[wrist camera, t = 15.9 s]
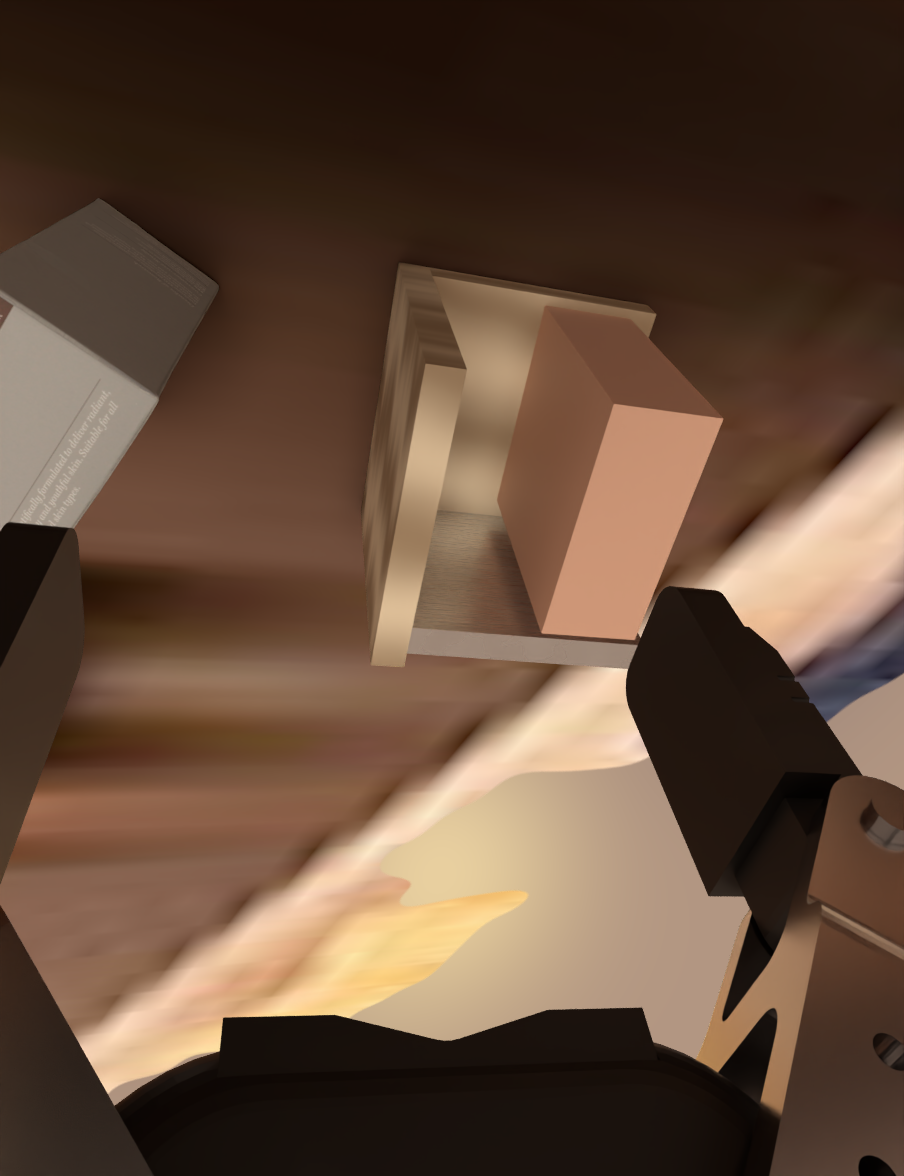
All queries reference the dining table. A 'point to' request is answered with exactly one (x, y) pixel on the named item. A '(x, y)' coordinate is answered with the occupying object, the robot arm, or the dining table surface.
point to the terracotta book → (600, 472)
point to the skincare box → (85, 355)
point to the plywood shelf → (446, 422)
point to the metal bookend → (491, 603)
